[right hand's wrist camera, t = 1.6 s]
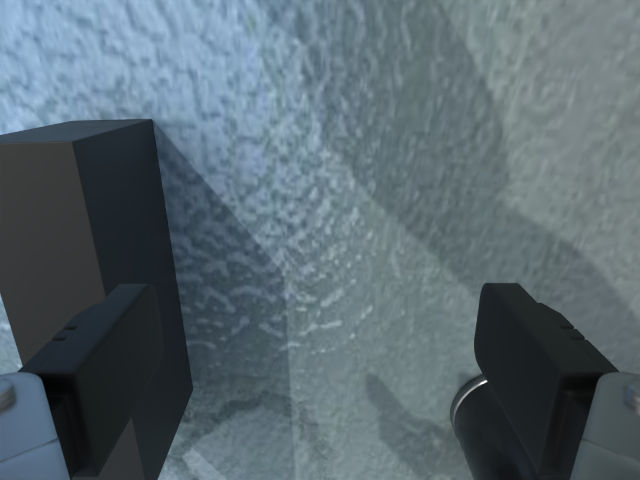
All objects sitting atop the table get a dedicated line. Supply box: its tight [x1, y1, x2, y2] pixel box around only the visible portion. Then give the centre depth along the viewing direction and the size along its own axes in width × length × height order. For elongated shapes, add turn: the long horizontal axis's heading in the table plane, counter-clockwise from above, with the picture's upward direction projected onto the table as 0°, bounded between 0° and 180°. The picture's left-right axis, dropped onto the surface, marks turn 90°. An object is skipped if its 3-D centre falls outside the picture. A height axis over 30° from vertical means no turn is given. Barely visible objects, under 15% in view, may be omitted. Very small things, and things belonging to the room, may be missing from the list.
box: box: [0, 119, 193, 480], centre depth 32 cm, size 25×6×12 cm, turn 1°
